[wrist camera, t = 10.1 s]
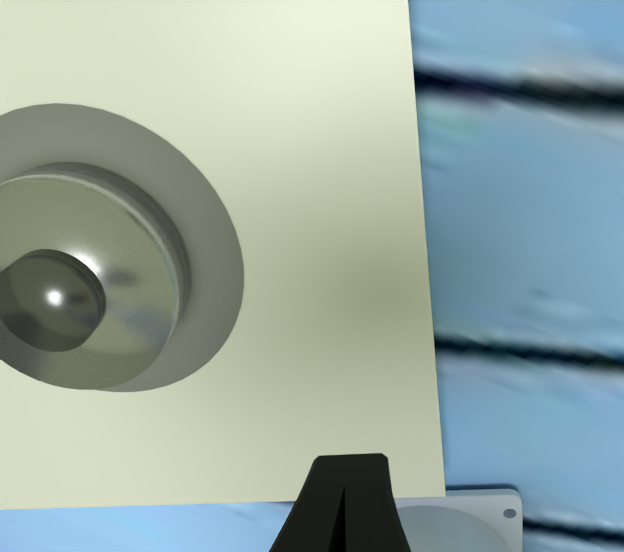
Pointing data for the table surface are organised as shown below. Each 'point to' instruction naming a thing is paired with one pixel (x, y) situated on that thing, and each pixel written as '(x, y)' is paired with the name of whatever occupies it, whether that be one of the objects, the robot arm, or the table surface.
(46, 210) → the dial
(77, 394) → the panel
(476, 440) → the table surface
